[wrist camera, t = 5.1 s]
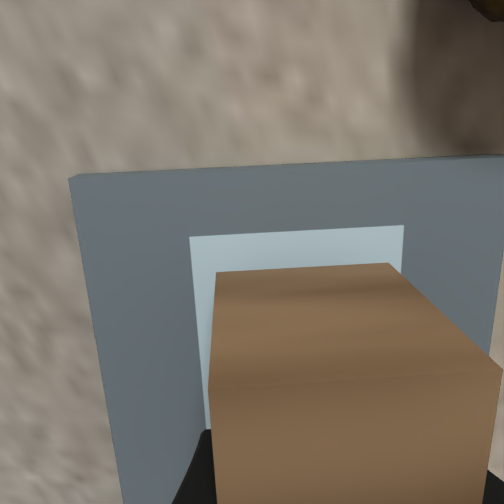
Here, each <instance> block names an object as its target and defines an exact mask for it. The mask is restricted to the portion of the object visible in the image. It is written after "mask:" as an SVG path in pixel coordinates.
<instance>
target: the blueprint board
mask: <svg viewBox="0 0 504 504" xmlns="http://www.w3.org/2000/svg"><path fill="white" fill-rule="evenodd" d="M68 181H69V186H70V192H71V198H72V204H73V210H74V216H75V222H76V228H77V233H78V239H79V245H80V251H81V257H82V263H83V269H84V275H85V280H86V286H87V292H88V298H89V304H90V310H91V316H92V322H93V327H94V333H95V339H96V345H97V351H98V357H99V363H100V369H101V374H102V380H103V386H104V392H105V398H106V404H107V410H108V416H109V421H110V427H111V433H112V439H113V445H114V451H115V457H116V463H117V468H118V474H119V480H120V486H121V492H122V498H123V504H172V502H173V500H174V498H175V496H176V494H177V491H178V489H179V487H180V485H181V483H182V481H183V479H184V477H185V475H186V472H187V470H188V468H189V465H190V463H191V461H192V458H193V456H194V453H195V450H196V447H197V445H198V442H199V438H200V434H201V433H202V432H203V431H204V430H205V429H211V422H210V410H209V398H208V379H209V364H210V350H211V336H212V322H213V307H214V293H215V279H216V272H227V271H245V270H263V269H281V268H299V267H316V266H334V265H352V264H370V263H388V262H389V263H390V264H391V265H392V266H393V267H394V268H395V269H396V270H397V271H398V272H399V273H400V274H401V275H402V276H403V277H405V278H406V279H407V280H408V281H409V282H410V283H411V284H412V285H413V286H414V287H415V288H416V289H417V290H418V291H419V292H421V293H422V294H423V295H424V296H425V297H426V298H427V299H428V300H429V301H430V302H431V303H432V304H433V305H434V306H436V307H437V308H438V309H439V310H440V311H441V312H442V313H443V314H444V315H445V316H446V317H447V318H448V319H449V320H450V321H452V322H453V323H454V324H455V325H456V326H457V327H458V328H459V329H460V330H461V331H462V332H463V333H464V334H465V335H466V336H468V337H469V338H470V339H471V340H472V341H473V342H474V343H475V344H476V345H477V346H478V347H479V348H480V349H481V350H482V351H484V352H485V353H486V354H487V355H488V356H489V350H490V343H491V336H492V329H493V322H494V315H495V308H496V301H497V294H498V287H499V280H500V273H501V265H502V258H503V251H504V155H503V154H487V155H467V156H446V157H426V158H405V159H384V160H364V161H343V162H323V163H302V164H282V165H261V166H240V167H220V168H199V169H179V170H158V171H138V172H117V173H96V174H78V175H75V176H73V177H71V178H68Z"/></svg>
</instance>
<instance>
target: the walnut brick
mask: <svg viewBox="0 0 504 504" xmlns="http://www.w3.org/2000/svg"><path fill="white" fill-rule="evenodd" d="M502 372H503V369H502V368H501V367H500V366H499V365H497V364H496V363H495V362H494V361H493V360H492V359H491V358H490V357H489V356H488V355H487V354H486V353H485V352H484V351H482V350H481V349H480V348H479V347H478V346H477V345H476V344H475V343H474V342H473V341H472V340H471V339H470V338H469V337H468V336H466V335H465V334H464V333H463V332H462V331H461V330H460V329H459V328H458V327H457V326H456V325H455V324H454V323H453V322H452V321H450V320H449V319H448V318H447V317H446V316H445V315H444V314H443V313H442V312H441V311H440V310H439V309H438V308H437V307H436V306H434V305H433V304H432V303H431V302H430V301H429V300H428V299H427V298H426V297H425V296H424V295H423V294H422V293H421V292H419V291H418V290H417V289H416V288H415V287H414V286H413V285H412V284H411V283H410V282H409V281H408V280H407V279H406V278H405V277H403V276H402V275H401V274H400V273H399V272H398V271H397V270H396V269H395V268H394V267H393V266H392V265H391V264H390V263H389V262H388V263H370V264H352V265H334V266H316V267H299V268H281V269H263V270H245V271H227V272H216V279H215V293H214V307H213V322H212V336H211V350H210V364H209V379H208V398H209V410H210V422H211V434H212V446H213V458H214V471H215V483H216V495H217V504H482V500H483V494H484V488H485V481H486V475H487V468H488V462H489V456H490V449H491V443H492V436H493V430H494V423H495V417H496V411H497V404H498V398H499V391H500V385H501V379H502Z"/></svg>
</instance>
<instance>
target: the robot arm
mask: <svg viewBox="0 0 504 504" xmlns="http://www.w3.org/2000/svg"><path fill="white" fill-rule="evenodd" d="M172 504H217V495H216V483H215V471H214V458H213V446H212V434H211V429H205V430H204V431H203V432H202V433H201V434H200V438H199V442H198V445H197V447H196V450H195V453H194V456H193V458H192V461H191V463H190V465H189V468H188V470H187V472H186V475H185V477H184V479H183V481H182V483H181V485H180V487H179V489H178V491H177V494H176V496H175V498H174V500H173V502H172ZM482 504H504V482H503V481H502V480H500V479H499V478H498V477H496V476H495V475H494V474H493V473H491V472H490V471H489V470H487V475H486V481H485V488H484V494H483V500H482Z"/></svg>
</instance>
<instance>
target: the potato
mask: <svg viewBox="0 0 504 504" xmlns="http://www.w3.org/2000/svg"><path fill="white" fill-rule="evenodd" d="M469 1H470V3H471V4H472V6H473V7H474V8H475V9H476V10H477V11H479V12H480V13H481V14H482V15H483V16H484V17H486V18H487V19H488V20H490V21H492V22H498V21H501V22H504V0H469Z"/></svg>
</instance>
